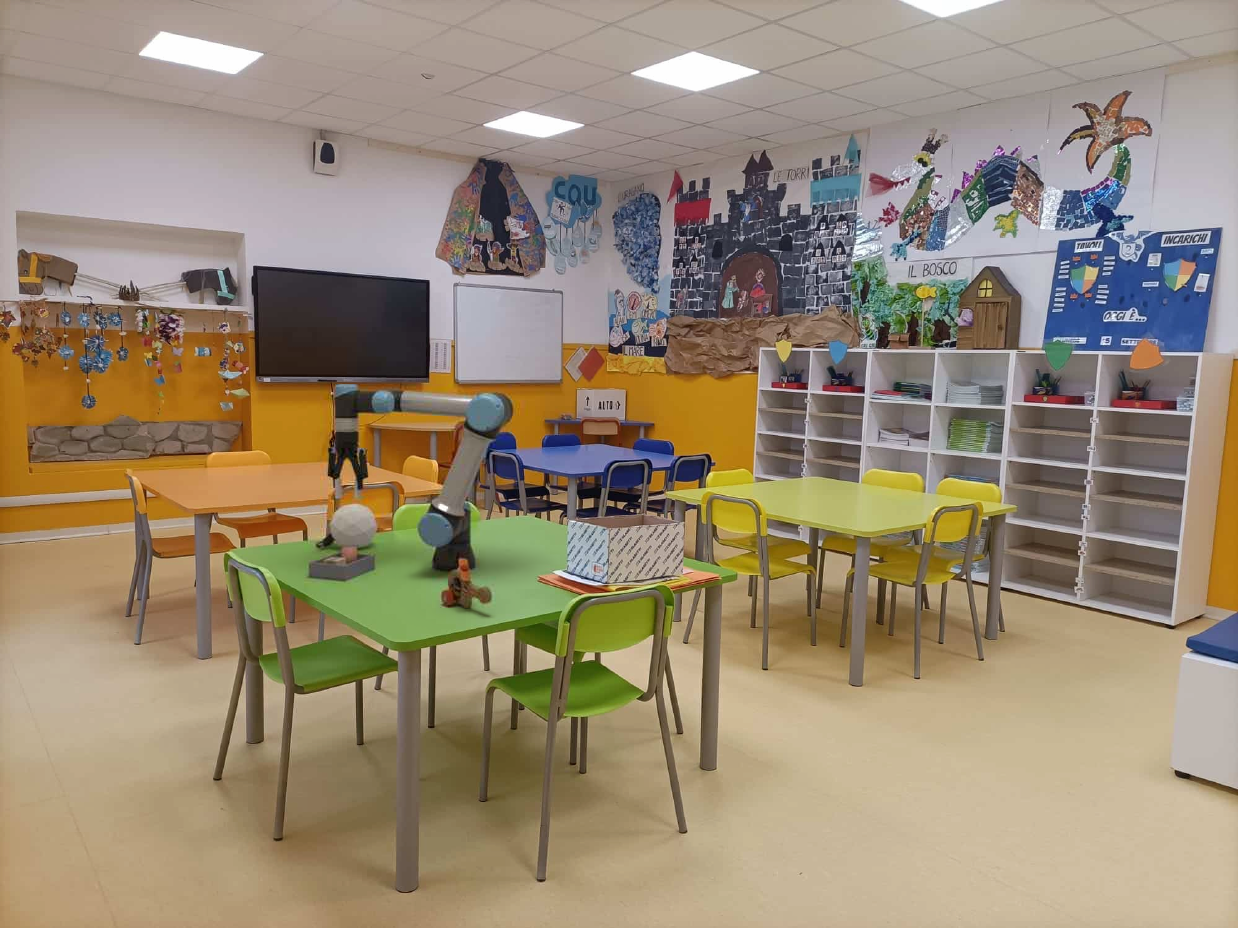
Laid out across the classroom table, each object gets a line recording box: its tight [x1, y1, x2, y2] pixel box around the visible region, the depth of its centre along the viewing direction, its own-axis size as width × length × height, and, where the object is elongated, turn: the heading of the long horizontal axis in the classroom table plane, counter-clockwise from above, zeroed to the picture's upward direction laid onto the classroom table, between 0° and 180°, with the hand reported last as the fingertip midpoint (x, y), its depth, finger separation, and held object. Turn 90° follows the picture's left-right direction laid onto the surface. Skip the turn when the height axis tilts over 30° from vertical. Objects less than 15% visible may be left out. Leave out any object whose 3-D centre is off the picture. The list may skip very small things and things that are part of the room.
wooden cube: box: [324, 557, 346, 565], centre depth 288 cm, size 5×5×5 cm
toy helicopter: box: [441, 558, 493, 609], centre depth 253 cm, size 8×21×14 cm, turn 42°
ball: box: [315, 495, 378, 549], centre depth 331 cm, size 17×25×24 cm
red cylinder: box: [340, 547, 358, 564], centre depth 296 cm, size 5×5×7 cm
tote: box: [308, 551, 376, 582], centre depth 292 cm, size 18×14×5 cm
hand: (348, 498), depth 293 cm, fingers open, 7 cm apart
